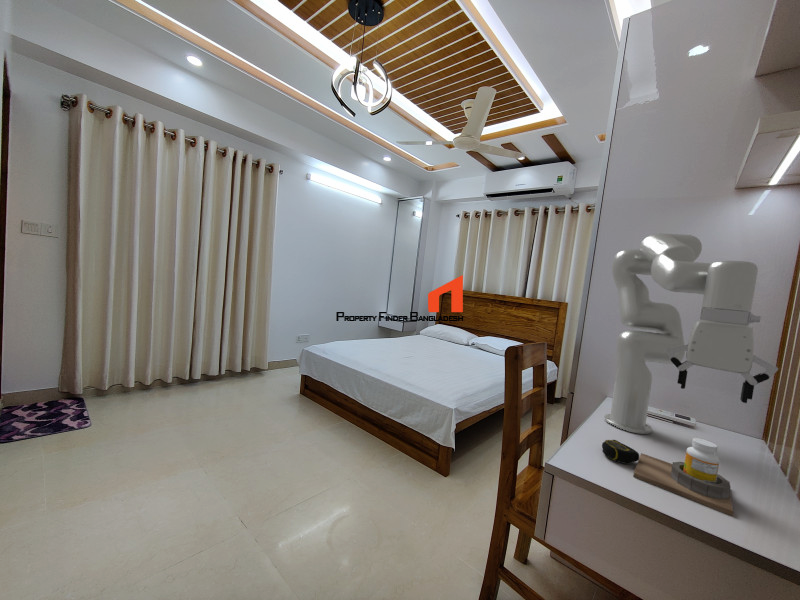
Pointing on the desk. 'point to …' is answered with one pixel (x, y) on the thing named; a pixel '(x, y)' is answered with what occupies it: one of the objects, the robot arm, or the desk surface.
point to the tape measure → (619, 452)
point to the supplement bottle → (702, 461)
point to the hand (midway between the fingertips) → (711, 394)
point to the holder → (684, 483)
